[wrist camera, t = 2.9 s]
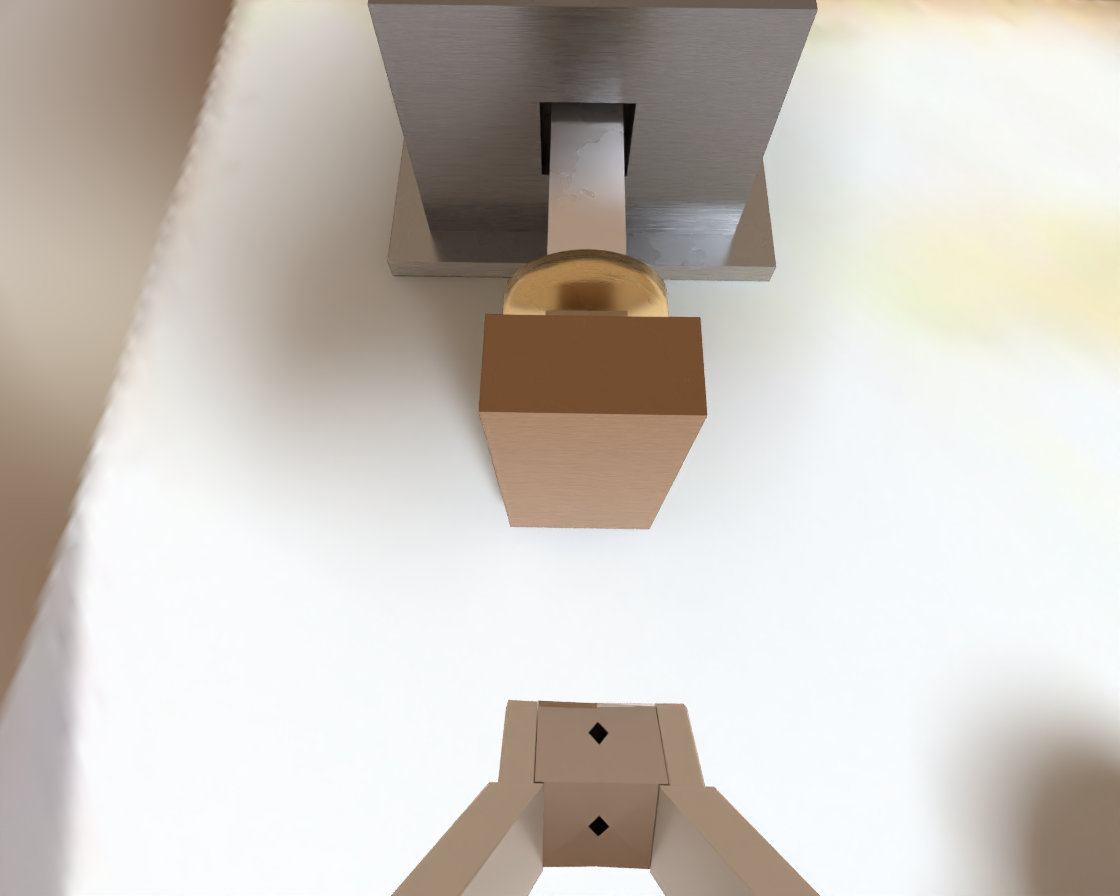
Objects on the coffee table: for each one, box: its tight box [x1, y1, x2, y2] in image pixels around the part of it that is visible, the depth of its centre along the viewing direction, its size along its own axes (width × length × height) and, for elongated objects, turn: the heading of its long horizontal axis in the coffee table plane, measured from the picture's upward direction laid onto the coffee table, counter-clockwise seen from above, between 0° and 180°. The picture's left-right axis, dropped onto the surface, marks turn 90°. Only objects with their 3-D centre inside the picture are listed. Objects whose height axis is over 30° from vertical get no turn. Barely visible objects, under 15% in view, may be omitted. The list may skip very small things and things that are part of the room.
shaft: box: [479, 102, 707, 529], centre depth 27 cm, size 21×6×12 cm, turn 179°
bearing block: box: [368, 0, 818, 281], centre depth 32 cm, size 18×20×13 cm
